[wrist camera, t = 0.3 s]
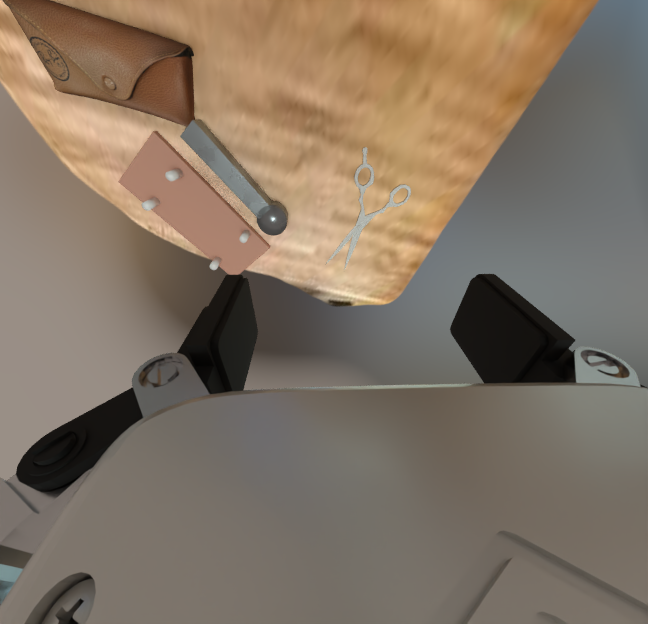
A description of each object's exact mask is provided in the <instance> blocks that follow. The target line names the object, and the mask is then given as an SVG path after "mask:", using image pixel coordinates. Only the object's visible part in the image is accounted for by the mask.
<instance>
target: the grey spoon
mask: <svg viewBox="0 0 648 624" xmlns="http://www.w3.org/2000/svg"><path fill="white" fill-rule="evenodd" d="M180 137H181V138H182V139H183V140H184V141H185V142H186V143H187V144H188V145H189V146H190V147H191V148H192V149H193V150H194V151H195V152H196V153H197V154H198V156H199V157H200V158H201V159H202V160H203V161H204V162H205V163H206V164H207V165H208V166H209V167H210V168H211V169H212V170H213V171H214V172H215V173H216V174H217V176H218V177H219V178H220V179H221V180H222V181H223V182H224V183H225V184H226V185H227V186H228V187H229V188H230V189H231V190H232V191H233V192H234V193H235V194H236V196H237V197H238V198H239V199H240V200H241V201H242V202H243V203H244V204H245V205H246V206H247V207H248V208H249V209H250V210H251V211H252V212H253V213H254V214H255V216H256V217H257V223H258V226H259V227H260V229H261V230H262V231H263V232H264V233H266V234H268V235H278V234H281V233H282V232H283V231H284V230H285V228H286V224H287V220H288V213H287V210H286V208H285V207H284V206H283V205H282V204H281V203H279V202H277V201H271V200H270V198H269V197H268V196H267V195H266V194H265V193H264V192H263V190H262V189H261V188H260V187H259V186H258V185H257V184H256V182H255V181H254V180H253V179H252V178H251V177H250V176H249V174H248V173H247V172H246V171H245V170H244V169H243V168H242V166H241V165H240V164H239V163H238V162H237V161H236V160H235V158H234V157H233V156H232V155H231V154H230V153H229V152H228V150H227V149H226V148H225V147H224V146H223V145H222V144H221V142H220V141H219V140H218V139H217V138H216V137H215V136H214V134H213V133H212V132H211V131H210V130H209V129H208V128H207V126H206V125H205V124H204V123H203V122H202V121H201V120H192V121H191V123H190V124H189V125H188V127H187V128H186V129H185V131H184V132H183V133H182V135H181V136H180Z"/></svg>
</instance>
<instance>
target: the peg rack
mask: <svg viewBox="0 0 648 624" xmlns="http://www.w3.org/2000/svg"><path fill="white" fill-rule="evenodd" d="M119 183H120V184H121V185H123V186H124V187H125V188H126V189H127V190H129V191H130V192H131V193H132V194H133V195H135V196H136V197H137V198H138V199H139V200H141V201H142V202H143V203H142V207H143V208H144V209H145V210H147V211H149V210H153V211H154V212H155V213H156V214H157V215H159V216H160V217H161V218H162V219H163V220H165V221H166V222H167V223H168V224H169V225H171V226H172V227H173V228H174V229H175V230H177V231H178V232H179V233H180V234H181V235H183V236H184V237H185V238H186V239H187V240H188V241H190V242H191V243H192V244H193V245H194V246H196V247H197V248H198V249H199V250H200V251H202V252H203V253H204V254H205V255H206V256H208V257H209V258H210V259H211V260H212V263H211V264H210V268H211V269H212V270H216V268H217V267H218V266H220V267H221V268H222V269H223V270H224V271H226V272H227V273H228V274H229V275H239V274H240V273H241V272H242V271H243V270H245V269H246V268H247V267H248V266H249V265H251V264H252V263H253V262H254V261H255V260H256V259H258V258H259V257H260V256H261V255H262V254H263V253H265V252H266V251H267V250H268V249H269V248H270V245H269V244H268V243H267V242H266V241H265V240H264V239H263V238H262V237H261V236H260V235H259V234H258V233H257V232H256V231H255V230H254V229H253V228H252V227H251V226H250V225H249V224H248V223H247V222H246V221H245V220H244V219H243V218H242V217H241V216H240V215H239V214H238V213H237V212H236V211H235V210H234V209H233V208H232V207H231V206H230V205H229V204H228V203H227V202H226V201H225V200H224V199H223V198H222V197H221V196H220V195H219V194H218V193H217V192H216V191H215V190H214V189H213V188H212V187H211V186H210V185H209V184H208V183H207V182H206V180H205V179H204V178H203V177H202V176H201V175H200V174H199V173H198V172H197V171H196V170H195V169H194V168H193V167H192V166H191V165H190V164H189V163H188V162H187V161H186V160H185V159H184V158H183V157H182V156H181V155H180V154H179V153H178V152H177V151H176V150H175V149H174V148H173V147H172V146H171V145H170V144H169V143H168V142H167V141H166V140H165V139H164V138H163V137H162V136H161V135H160V134H159V133H158V132H157V131H153V133H152V134H151V135H150V137H149V138H148V140H147V141H146V143H145V144H144V146H143V147H142V148H141V150H140V151H139V153H138V154H137V156H136V157H135V159H134V160H133V161H132V163H131V164H130V166H129V167H128V169H127V170H126V172H125V173H124V174H123V176H122V177H121V179H120V180H119Z"/></svg>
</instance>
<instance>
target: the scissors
mask: <svg viewBox="0 0 648 624" xmlns="http://www.w3.org/2000/svg"><path fill="white" fill-rule="evenodd" d="M362 151H363V164H362V165H360V166H359V167H358V169H357V170H356V173H355V176H354V179H355V183H356V185H357V187H358V188H359V189H360V193H361V196H360V198H359V202H360V203H361V211H360V214H359V217H358V220H357V223H356V226H355V227H354V228H353V229H352V230H351V232H350V233H349V234H348V235H347V236H346V238H345V239H344V240H343V241H342V243H341V244H340V245H339V247H338V248H337V249H336V251H335V252H334V253H333V255H332V256H331V257H330V259H329V260H328V262H329V261H330V260H331V259H332V258H333V257H334V256H335V255H336V254H337V253H338V252H339V251H340V250H341V249H342V248H343V246H344V245H345V244H346V243H347V242H348V241H349V239H350V238H351V236H352V235H353V237H352V241H351V244H350V248H349V252H348V256H347V260H346V265H345V268H346V266H347V263H348V261H349V259H350V257H351V254H352V252H353V250H354V248H355V246H356V243H357V241H358V238H359V236H360V233H361V231H362V229H363V228H364V227H365V226H366V225H367V223H368V222H369V221H370V220H371V219H372V218H373V217H374V216H375V215H377V214H379V213H383V212H384V211H385V210H386V208H387V207H393V206H394V207H397V206H400V205H402V204H404V203H405V202H407V200H408V199H409V197H410V194H411V190H410V187H409V186H407V185H399V186H398V187H396V188H395V189H394V190H393V191H392V192H391V193H390V199H389V202H388V203H387V204H386V205H385V207H384V208H382V209H380V210H378V211H376V212H374V213H370V214H368V215H366V216H365V212H364V206H363V194H364V192H365V190H366V188H367V187H369V186H370V185H372V184H373V181H374V171H373V168H372V167H371V166H370V165H369V164H367V159H366V154H367V148H366V147H364V148H363V150H362ZM365 167H367V168H368V169H370V171H371V177H370V180H369V181H368V183H367V184H365V185H363V186H362V185H361V184H359V183H358V174H359V172H360V170H361V169H362V168H365ZM401 188H405V189H407V190H408V195H407V197H406V199H405V200H404V201H403V202H400V203H397V204H396V203H394V202H393V196H394V195H395V193H396V192H397V191H398V190H399V189H401ZM328 262H327V263H328ZM327 263H326V264H327ZM326 264H325V265H326ZM344 270H345V269H344Z"/></svg>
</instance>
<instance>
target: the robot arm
mask: <svg viewBox="0 0 648 624" xmlns="http://www.w3.org/2000/svg"><path fill="white" fill-rule="evenodd" d="M450 330H451V334H452V336H453V337H454V339H455V340H456V342H457V343H458V344H459V346H460V347H461V349H462V350H463V352H464V354H465V355H466V357H467V358H468V360H469V361H470V362H471V364H472V365H473V367H474V368H475V370H476V371H477V373H478V374H479V376H480V377H481V379H482V380H483V382H484V384H434V385H433V384H431V385H430V384H429V385H386V386H385V385H383V386H347V387H346V386H345V387H308V388H284V389H260V390H244V391H243V389H244V385H245V381H246V377H247V374H248V370H249V366H250V362H251V358H252V354H253V350H254V346H255V343H256V339H257V333H258V329H257V324H256V319H255V314H254V308H253V304H252V298H251V293H250V288H249V282H248V279H247V278H243V276H242V275H226V276H225V278H224V280H223V282H222V283H221V285H220V287H219V289H218V290H217V292H216V294H215V296H214V297H213V299H212V301H211V302H210V304H209V306H207V307H205V308H204V309H203V310H202V312H201V314H200V315H199V317H198V319H197V320H196V322H195V324H194V326H193V327H192V329H191V330H190V332H189V334H188V336H187V337H186V339H185V341H184V342H183V344H182V346H181V347H180V349H179V351H178V352H177V353H166V354H162V355H159V356H156V357H154V358H152V359H150V360H148V361H147V362H145V363H144V364H143V365H141V366H140V367H139V368H138V370H137V371H136V372H135V373H134V376H133V378H132V386H133V388H131V389H129V390H127V391H125V392H123V393H121V394H120V395H118V396H116V397H114V398H112V399H111V400H108V401H107V402H105V403H103V404H101V405H99V406H97V407H96V408H94V409H92V410H90V411H88V412H86V413H84V414H83V415H81V416H79V417H77V418H75V419H73V420H72V421H70V422H68V423H66V424H64V425H62V426H60V427H59V428H57V429H55V430H53V431H52V432H50V433H48V434H47V435H45V436H44V437H42V438H41V439H40V440H39V441H38V442H36V443H35V444H34V445H33V446H32V447H31V448H30V449H29V450H28V451H27V452H26V454H25V455H24V456H23V457H22V459H21V461H20V463H19V464H18V467H17V472H16V474H15V475H13V476H12V477H11V478H10V479H8V480H7V481H6V480H4V479H2V478H0V624H648V388H647V387H645V386H642V385H640V383H639V380H638V377H637V374H636V373H635V371H634V370H633V368H632V367H631V366H629V365H628V364H627V363H626V362H624V361H623V360H621V359H620V358H618V357H616V356H614V355H613V354H611V353H608V352H605V351H603V350H600V349H597V348H593V347H578V348H576V349H575V350H574V351H573V352H571V351H570V350H569V349H568V348H569V347H570V346H571V345H572V344H573V342H574V341H575V339H574V338H572V337H571V336H570V335H569V334H567V333H566V332H565V331H564V330H563V329H561V328H560V327H559V326H558V325H556V324H555V323H554V322H553V321H552V320H550V319H549V318H548V317H547V316H545V315H544V314H543V313H542V312H540V311H539V310H538V309H537V308H536V307H534V306H533V305H532V304H530V303H529V302H528V301H527V300H526V299H524V298H523V297H522V296H521V295H520V294H518V293H517V292H516V291H515V290H513V289H512V288H511V287H510V286H509V285H507V284H506V283H505V282H504V281H502V280H501V279H500V278H498V277H497V276H496V275H494V274H478V275H477V276H476V277H475V278H473V279H472V280H471V281H470V283H469V286H468V288H467V290H466V293H465V295H464V297H463V300H462V302H461V304H460V306H459V309H458V311H457V313H456V316H455V318H454V320H453V322H452V325H451V328H450Z"/></svg>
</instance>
